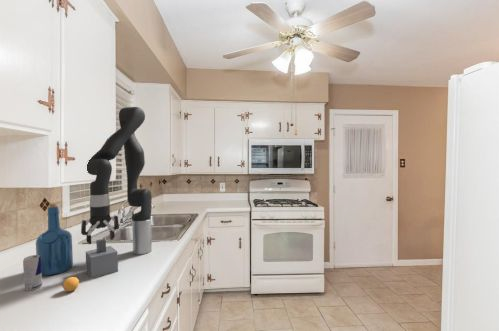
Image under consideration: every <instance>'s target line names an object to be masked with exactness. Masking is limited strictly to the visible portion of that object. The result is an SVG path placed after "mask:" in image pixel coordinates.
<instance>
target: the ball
mask: <svg viewBox="0 0 499 331" xmlns="http://www.w3.org/2000/svg"><path fill="white" fill-rule="evenodd" d="M79 285H80V280H79V279H78V278H77V277H76V276H70V277H68V278H66V279H65V280H64V282H63V284H62V288H63V290H64V291H66V292H73V291H75V290H77V289H78V287H79Z"/></svg>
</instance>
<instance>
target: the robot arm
mask: <svg viewBox="0 0 499 331" xmlns="http://www.w3.org/2000/svg"><path fill="white" fill-rule="evenodd" d="M118 112H119V113H118V121H119V125H120V128H119V129H117V131H115V132H114V133H112V134H111V135H110V136H109V137H108V138H107V139H106V140H105V142H104V144H102V146H101V148H100V149H99V150H98V151H97V152H95V154H94V155H92V156H91V157H90V158H91V159H90V158H89V159H90V160H89V159H88V161H89V162H88V161H87V162H88V164H87V163H86V164H87V171H88V172H87V171H86V172H87V173H88V174H89V175H91V176H95V180H94V181H91V182H90V183H89V184H90V185H89V190H90V191H89V194H90V195H89V196H90V197H89V219H82V220H81V230H80V234H81V235H82V236H86V243H87V244H88V245H92V235H91V234H93V232H94V231H95V230H96V229H99V230H100V229H105V228H108V230H109V239H110V241H111V240H114V238H115V231H116V230H118V229H119V228H120V226H119V217H118V216H117V215H116V214H115V215H113V216H111V212H110V211H111V209H110V208H111V207H110V205H111V204H110V203H111V201H110V194H109V193H110V192H109V184H110V180H111V176H112V172H113V167H112V163H111V162H110V161H112V160H114V159H116V157H117V156H118V155H119V152H120V151H121V150H122V148H123V150H124V152H123V153H124V163H125V168H126V170H125V171H126V184H127V185H126V188H127V191H126V194H127V203H128V205H129V207H139V208H140V211H138V212H135V213H133V214H132V215H131V226H132V227H131V229H132V232H131V234H132V254H134V255H145V254H148V253H150V252H152V250H153V248H152V219H151V218H152V201H153V200H152V192H151V190H150V189H148V188H138V180H139V177H140V175H141V173H142V172H143V170H144V167H145V164H146V161H145V151H144V149H143V147H142V145H141V143H140V142H139V141H138V138H137V137H136V135H135V132H136V131H137V130H138V129H139V128H140V127H141V126H142V125H143V123H144V122H145V119H146V114H145V112H144V109H142V108H141V107H138V106H129V107H123V108H121V109H120V110H119V111H118ZM111 220H112V221H113V224H114V225H113V226H112V225H111V224H110V222H111ZM88 224H90V226H89V227H88V229H87V226H88ZM86 229H87V230H86Z"/></svg>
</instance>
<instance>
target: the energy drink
mask: <svg viewBox="0 0 499 331" xmlns="http://www.w3.org/2000/svg"><path fill="white" fill-rule="evenodd" d="M22 266H23V286H24V287H23V288H24V291H27V292H31V291H35V290H38V289H40V288H41V287H42V286H43V277H42V270H41V257H40V255H36V254H34V255H33V254H32V255H29V256H26V257H24V258H23V261H22Z"/></svg>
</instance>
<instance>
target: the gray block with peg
mask: <svg viewBox="0 0 499 331" xmlns="http://www.w3.org/2000/svg"><path fill="white" fill-rule="evenodd" d="M95 242H96V248H95V249H90V250H87V251H85V264H86V265H85V270H86V273H87V274H88V275H89V278H91V280H92V279H96V278H98V277H99V278H100V277H103V276H106V275H110V274H114V273H117V272H119V262H118V260H119V259H118V256H119V255H118V251H117V250H116V248H115V247H113V246H112V245H110V246H107V243H106V242H107V240H106V239H105V238H101V239H96V240H95Z"/></svg>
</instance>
